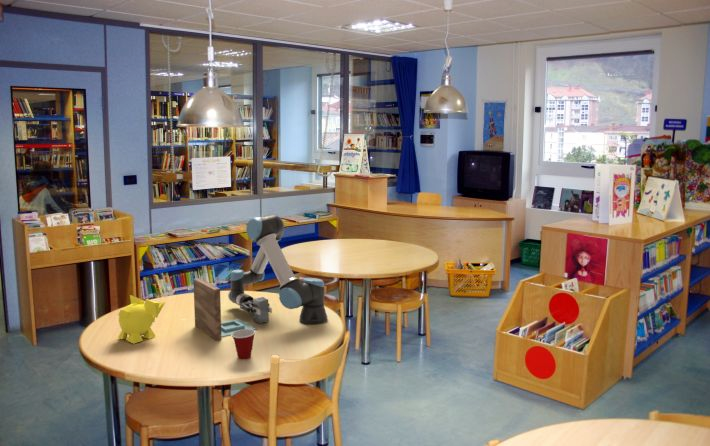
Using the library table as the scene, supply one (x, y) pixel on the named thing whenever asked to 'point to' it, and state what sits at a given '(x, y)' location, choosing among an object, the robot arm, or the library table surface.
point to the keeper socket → (234, 327)
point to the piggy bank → (138, 319)
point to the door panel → (207, 308)
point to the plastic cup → (243, 342)
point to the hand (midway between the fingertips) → (265, 311)
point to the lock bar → (261, 310)
